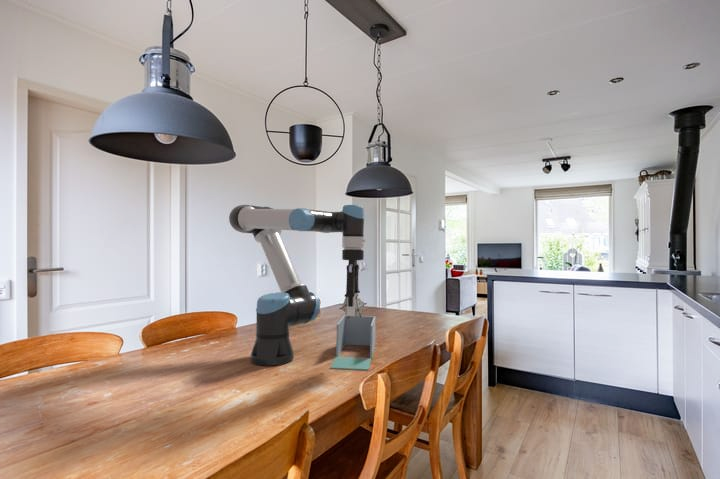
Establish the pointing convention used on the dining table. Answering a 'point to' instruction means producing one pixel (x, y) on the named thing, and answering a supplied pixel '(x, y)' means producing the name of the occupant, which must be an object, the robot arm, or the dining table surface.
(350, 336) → the slot box
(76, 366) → the dining table surface
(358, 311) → the game die
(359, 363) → the mat
